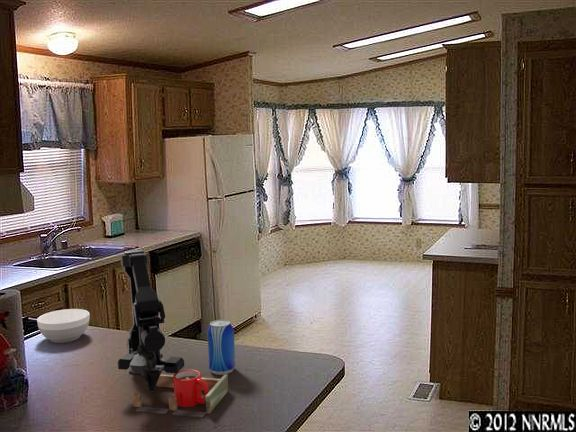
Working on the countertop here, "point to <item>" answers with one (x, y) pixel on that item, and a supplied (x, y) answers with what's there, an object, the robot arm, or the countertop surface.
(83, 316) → the bowl
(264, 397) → the countertop surface
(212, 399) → the wooden box
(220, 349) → the beer can
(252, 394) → the countertop surface
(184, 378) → the mug
